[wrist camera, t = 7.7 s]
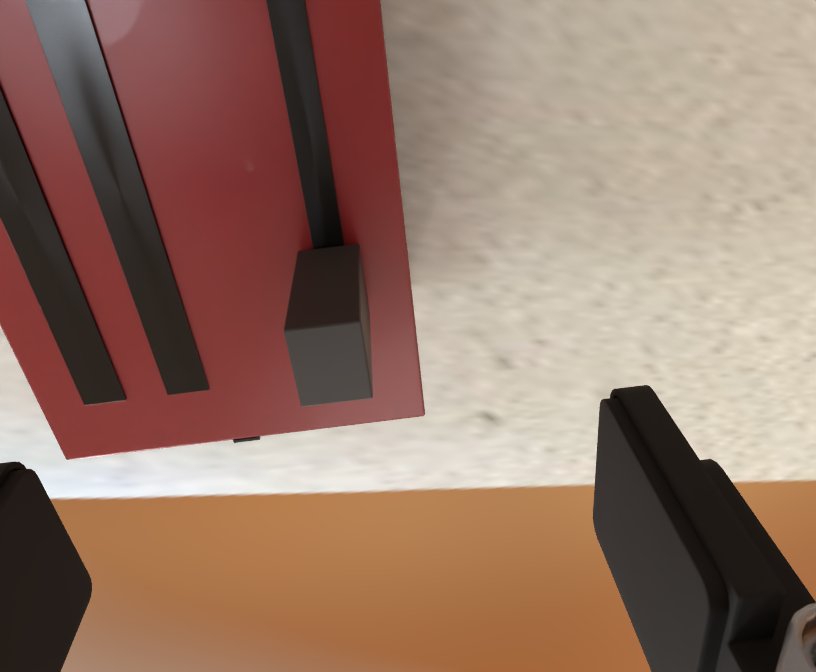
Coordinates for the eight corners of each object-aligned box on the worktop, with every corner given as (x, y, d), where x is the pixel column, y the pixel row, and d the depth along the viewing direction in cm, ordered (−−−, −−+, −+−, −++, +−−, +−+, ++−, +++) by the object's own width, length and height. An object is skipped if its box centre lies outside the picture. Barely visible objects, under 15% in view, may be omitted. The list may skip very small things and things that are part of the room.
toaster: (-22, -155, 19) (-273, -217, 12) (350, -197, 19) (349, -287, 12) (146, 318, 28) (66, 465, 20) (405, 286, 28) (426, 421, 20)
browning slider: (296, 250, 17) (282, 330, 13) (359, 242, 17) (361, 320, 13) (310, 318, 18) (300, 408, 14) (369, 310, 18) (373, 399, 14)
